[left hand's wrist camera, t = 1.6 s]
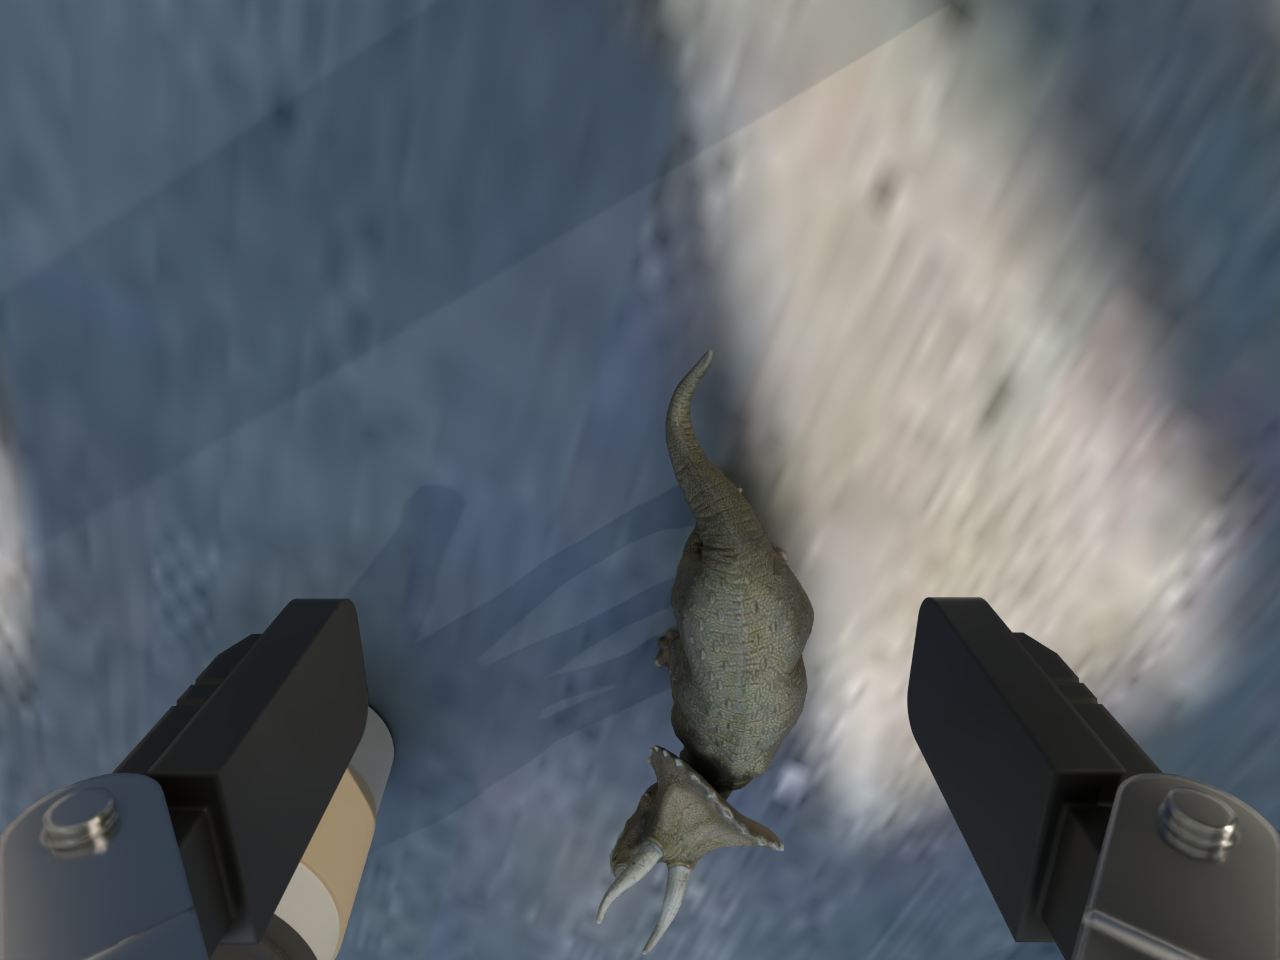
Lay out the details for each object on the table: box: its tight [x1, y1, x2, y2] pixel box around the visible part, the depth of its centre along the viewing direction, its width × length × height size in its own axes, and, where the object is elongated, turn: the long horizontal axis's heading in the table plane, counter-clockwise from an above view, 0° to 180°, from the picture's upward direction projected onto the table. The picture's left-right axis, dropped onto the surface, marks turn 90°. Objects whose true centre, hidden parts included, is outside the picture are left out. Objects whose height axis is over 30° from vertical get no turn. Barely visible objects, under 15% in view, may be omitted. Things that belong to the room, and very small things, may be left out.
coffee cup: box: [210, 706, 394, 960], centre depth 33 cm, size 9×9×15 cm
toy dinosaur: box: [596, 349, 814, 955], centre depth 31 cm, size 22×8×11 cm, turn 171°
